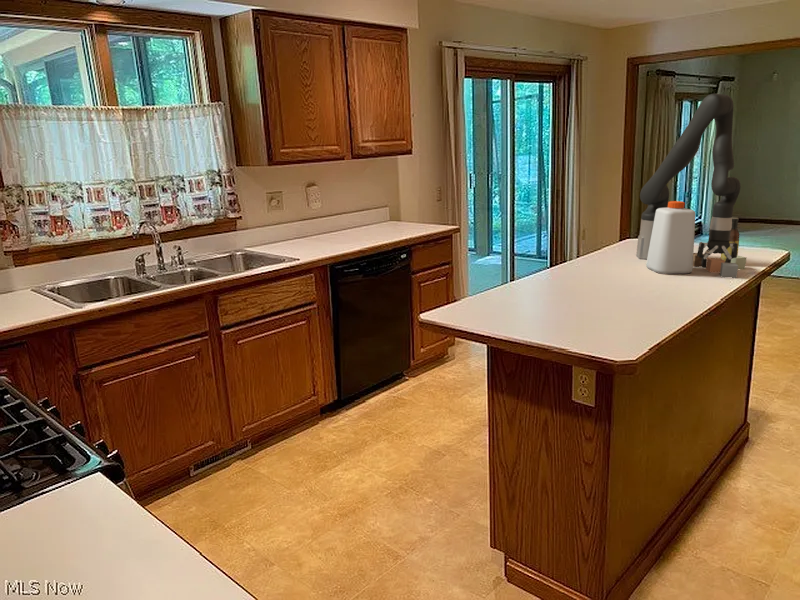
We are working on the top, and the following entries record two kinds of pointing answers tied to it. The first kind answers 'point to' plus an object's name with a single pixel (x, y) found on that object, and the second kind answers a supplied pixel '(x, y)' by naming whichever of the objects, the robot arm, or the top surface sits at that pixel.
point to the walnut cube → (696, 260)
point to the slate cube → (728, 270)
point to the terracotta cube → (714, 264)
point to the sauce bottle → (733, 236)
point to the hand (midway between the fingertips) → (715, 267)
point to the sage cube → (739, 261)
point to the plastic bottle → (672, 240)
